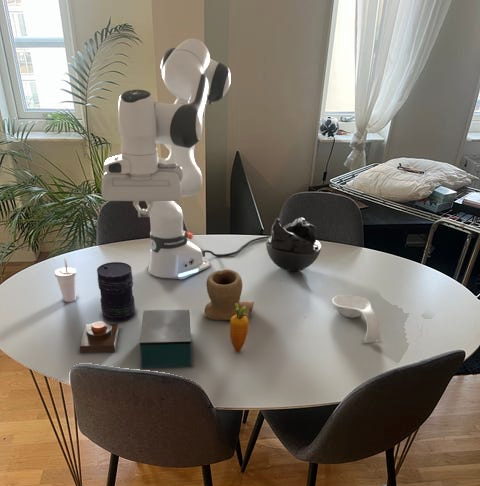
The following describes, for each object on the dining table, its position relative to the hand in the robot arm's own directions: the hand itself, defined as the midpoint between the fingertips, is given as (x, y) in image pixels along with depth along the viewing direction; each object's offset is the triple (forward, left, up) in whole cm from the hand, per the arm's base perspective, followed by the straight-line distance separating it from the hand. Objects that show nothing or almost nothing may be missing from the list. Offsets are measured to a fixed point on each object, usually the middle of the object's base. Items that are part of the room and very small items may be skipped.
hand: (144, 216), depth 124 cm
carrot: (-10, +29, -32) cm, 44 cm away
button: (+17, +2, -28) cm, 33 cm away
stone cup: (-20, +13, -32) cm, 40 cm away
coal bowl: (-61, 0, -32) cm, 69 cm away
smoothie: (+14, -25, -32) cm, 43 cm away
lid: (+5, +17, -24) cm, 30 cm away
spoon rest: (-50, +39, -32) cm, 71 cm away
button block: (+17, +2, -32) cm, 36 cm away
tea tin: (+5, +17, -32) cm, 37 cm away
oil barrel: (+6, -8, -32) cm, 34 cm away
